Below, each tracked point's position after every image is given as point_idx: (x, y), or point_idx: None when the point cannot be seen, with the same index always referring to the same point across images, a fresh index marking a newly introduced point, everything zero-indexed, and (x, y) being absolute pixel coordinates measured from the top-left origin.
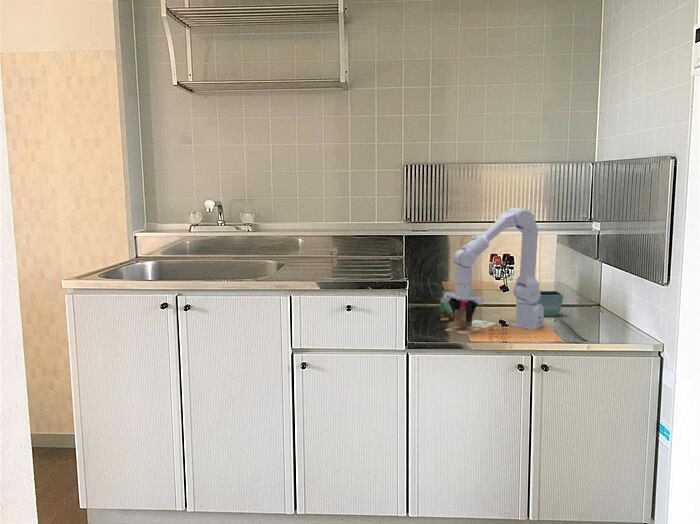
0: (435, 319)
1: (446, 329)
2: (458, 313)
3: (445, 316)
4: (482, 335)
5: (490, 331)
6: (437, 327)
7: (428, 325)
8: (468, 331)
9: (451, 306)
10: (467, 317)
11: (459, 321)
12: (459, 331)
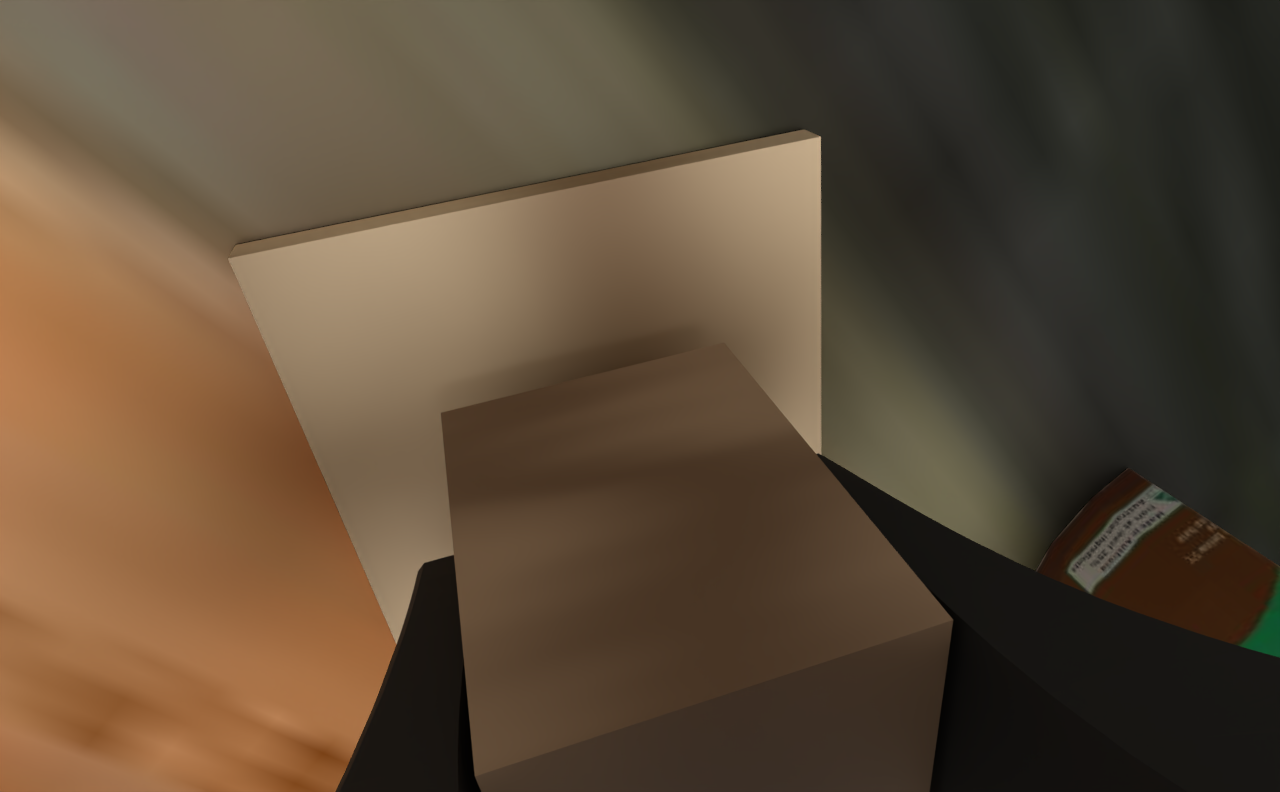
0: (1234, 496)
1: (801, 157)
2: (750, 584)
3: (1144, 573)
4: (51, 505)
5: (249, 738)
6: (1051, 217)
7: (1229, 188)
8: (372, 413)
9: (1174, 653)
10: (422, 641)
11: (633, 445)
12: (496, 265)
